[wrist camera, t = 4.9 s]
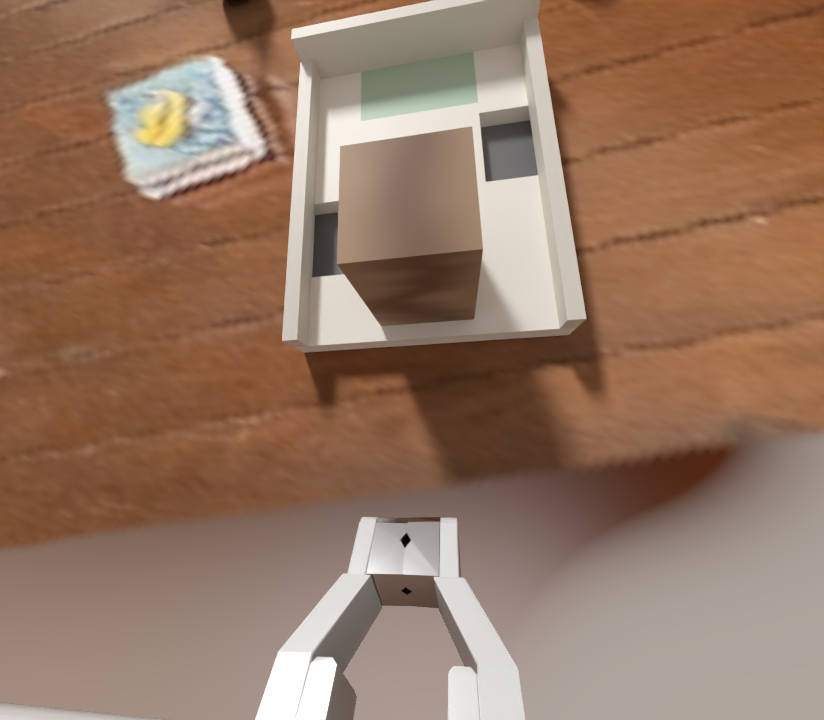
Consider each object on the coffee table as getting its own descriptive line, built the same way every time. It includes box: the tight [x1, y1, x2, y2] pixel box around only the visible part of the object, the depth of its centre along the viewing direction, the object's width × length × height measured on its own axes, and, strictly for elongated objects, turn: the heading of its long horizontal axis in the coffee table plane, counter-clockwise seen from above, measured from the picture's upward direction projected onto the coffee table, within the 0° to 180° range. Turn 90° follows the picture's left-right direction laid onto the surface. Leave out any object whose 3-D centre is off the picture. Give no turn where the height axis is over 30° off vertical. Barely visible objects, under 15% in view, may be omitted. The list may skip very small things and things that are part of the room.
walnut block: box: [337, 126, 483, 326], centre depth 18 cm, size 6×6×8 cm
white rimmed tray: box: [282, 0, 586, 353], centre depth 23 cm, size 18×24×4 cm
